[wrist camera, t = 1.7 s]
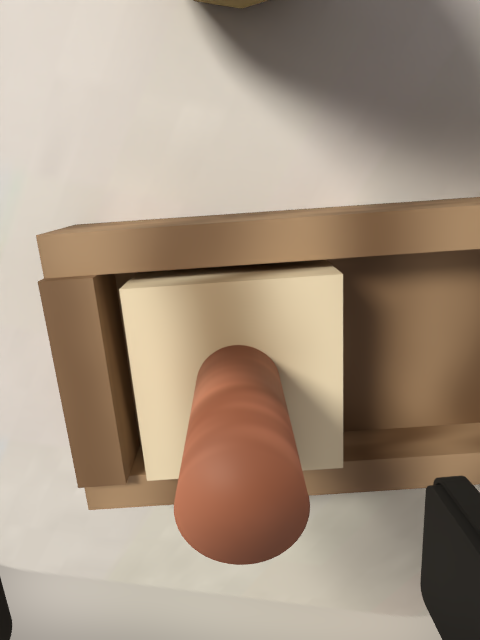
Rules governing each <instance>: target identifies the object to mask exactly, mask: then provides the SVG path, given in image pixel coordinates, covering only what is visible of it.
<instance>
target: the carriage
mask: <svg viewBox="0 0 480 640" xmlns="http://www.w3.org/2000/svg"><path fill="white" fill-rule="evenodd" d="M119 292H120V299H121V306H122V313H123V320H124V326H125V333H126V340H127V347H128V354H129V361H130V368H131V375H132V381H133V388H134V395H135V402H136V409H137V416H138V423H139V430H140V436H141V443H142V450H143V457H144V464H145V471H146V478H147V481H153V480H168V479H178V484H177V489H176V495H175V501H174V516H175V520H176V524H177V526H178V529H179V531H180V533H181V534H182V536H183V537H184V539H185V540H186V541H187V542H188V543H189V544H190V545H191V546H192V547H193V548H194V549H195V550H197V551H198V552H199V553H201V554H203V555H204V556H206V557H208V558H211V559H213V560H216V561H219V562H223V563H228V564H237V565H244V564H254V563H259V562H263V561H266V560H269V559H272V558H274V557H276V556H278V555H280V554H281V553H283V552H284V551H286V550H287V549H288V548H290V547H291V546H292V545H293V544H294V543H295V542H296V541H297V540H298V538H299V537H300V536H301V534H302V533H303V531H304V529H305V527H306V524H307V521H308V518H309V512H310V502H309V496H308V492H307V487H306V483H305V479H304V475H303V471H304V470H319V469H334V468H343V274H342V273H341V272H340V271H339V270H337V269H336V268H335V267H334V266H333V265H331V264H330V263H329V262H328V261H327V260H313V261H298V262H284V263H269V264H254V265H240V266H225V267H210V268H196V269H181V270H166V271H151V272H137V273H136V274H135V275H134V276H133V277H132V278H131V279H130V280H129V281H127V282H126V283H125V284H124V285H123V286H122V287H121V288H120V289H119Z"/></svg>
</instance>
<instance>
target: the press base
mask: <svg viewBox="0 0 480 640" xmlns="http://www.w3.org/2000/svg"><path fill="white" fill-rule="evenodd" d="M36 238H37V243H38V248H39V253H40V259H41V264H42V269H43V274H44V279H42V280H40V281H38V285H39V290H40V296H41V301H42V306H43V311H44V316H45V321H46V326H47V331H48V336H49V341H50V346H51V351H52V356H53V362H54V367H55V372H56V377H57V382H58V387H59V392H60V397H61V402H62V407H63V412H64V417H65V423H66V428H67V433H68V438H69V443H70V448H71V453H72V458H73V463H74V468H75V473H76V478H77V483H78V488H83V487H84V488H85V493H86V498H87V503H88V508H89V510H96V509H111V508H127V507H142V506H157V505H172V504H174V501H175V495H176V489H177V484H178V479H168V480H153V481H147V478H146V471H145V464H144V457H143V450H142V443H141V436H140V430H139V423H138V416H137V409H136V402H135V395H134V388H133V381H132V375H131V368H130V361H129V354H128V347H127V340H126V333H125V326H124V320H123V313H122V306H121V299H120V292H119V289H120V288H121V287H122V286H123V285H124V284H125V283H126V282H127V281H129V280H130V279H131V278H132V277H133V276H134V275H135V274H136V273H137V272H151V271H166V270H181V269H196V268H210V267H225V266H240V265H254V264H269V263H284V262H298V261H313V260H327V261H328V262H329V263H330V264H331V265H333V266H334V267H335V268H336V269H337V270H339V271H340V272H341V273H342V274H343V468H334V469H319V470H304V471H303V475H304V479H305V483H306V487H307V492H308V496H309V495H324V494H339V493H354V492H370V491H385V490H400V489H415V488H427V486H429V485H433V482H434V480H435V478H438V477H450V476H465V477H466V478H467V479H468V480H469V481H470V482H471V483H472V485H476V484H480V197H474V198H459V199H444V200H430V201H415V202H401V203H386V204H371V205H357V206H342V207H328V208H313V209H298V210H284V211H269V212H255V213H240V214H226V215H211V216H196V217H182V218H167V219H153V220H138V221H123V222H109V223H94V224H80V225H73V226H69V227H65V228H62V229H58V230H54V231H51V232H47V233H43V234H40V235H36Z"/></svg>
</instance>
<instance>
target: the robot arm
mask: <svg viewBox="0 0 480 640" xmlns="http://www.w3.org/2000/svg"><path fill="white" fill-rule="evenodd" d="M421 592H422V597H423V600H424V603H425V605H426V607H427V609H428V611H429V613H430V615H431V617H432V619H433V621H434V623H435V625H436V628H437V629H438V632H439V634H440V635H441V638H442V640H480V493H479V492H478V490H477V489H476V488H475V487H474V486H473V485H472V483H471V482H470V481H469V480H468V479H467V478H466V477H465V476H450V477H438V478H435V480H434V482H433V485H429V486H427V488H426V499H425V516H424V533H423V550H422V568H421ZM11 632H12V619H11V615H10V612H9V608H8V604H7V600H6V597H5V593H4V590H3V586H2V582H1V578H0V640H10V637H11Z"/></svg>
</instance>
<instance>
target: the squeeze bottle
mask: <svg viewBox="0 0 480 640" xmlns="http://www.w3.org/2000/svg"><path fill="white" fill-rule="evenodd" d="M194 1H197V2H203V3H210V4H216V5H222V6H229V7H235V8H241V9H242V8H245V7H249V6H252V5H255V4H258V3H262V2H265V1H268V0H194Z"/></svg>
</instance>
